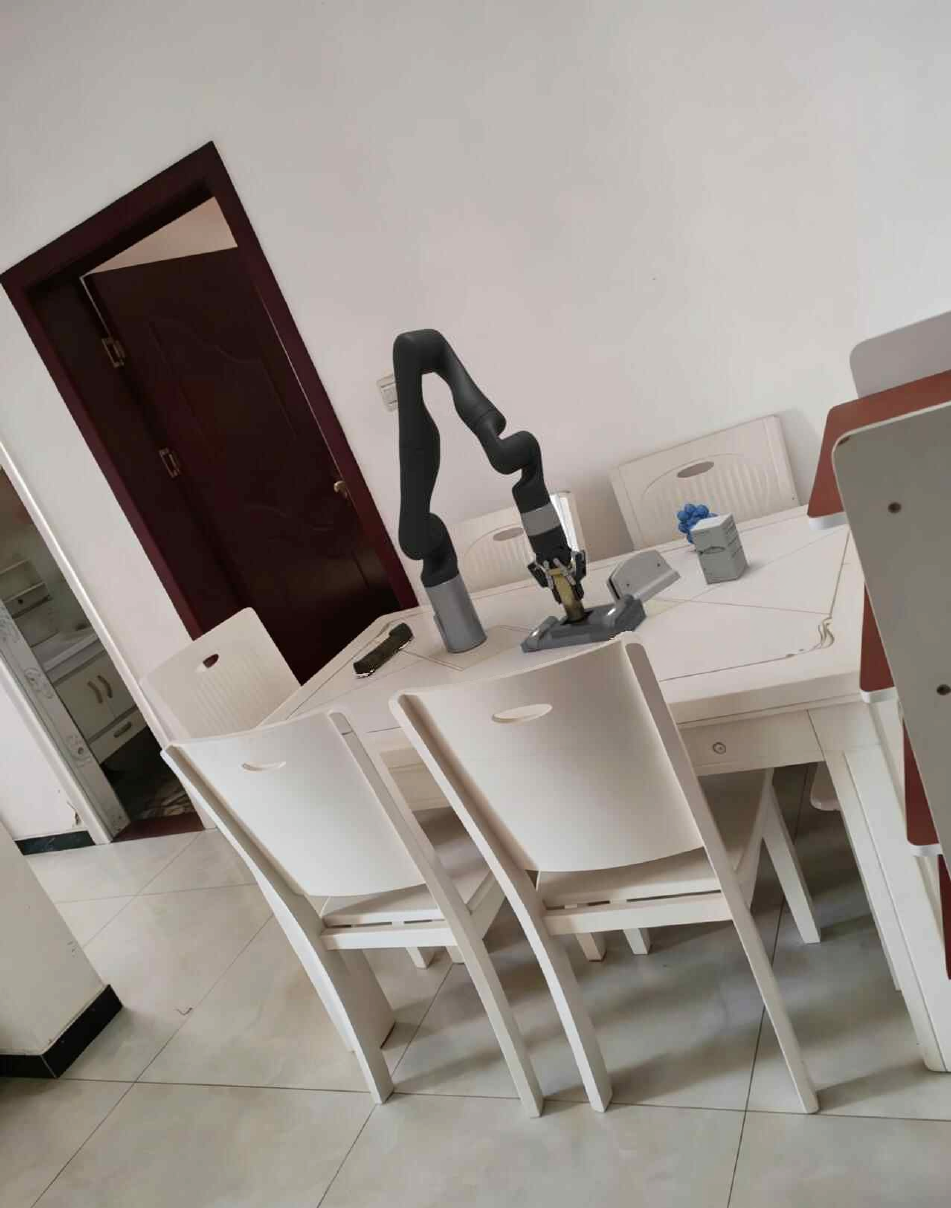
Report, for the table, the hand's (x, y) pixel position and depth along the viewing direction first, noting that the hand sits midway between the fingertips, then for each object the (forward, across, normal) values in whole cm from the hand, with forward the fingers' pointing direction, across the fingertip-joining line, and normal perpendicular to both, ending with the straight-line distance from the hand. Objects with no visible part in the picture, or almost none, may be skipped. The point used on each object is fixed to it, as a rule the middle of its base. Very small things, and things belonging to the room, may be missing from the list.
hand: (571, 600), depth 201 cm
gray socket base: (+8, 0, 0) cm, 8 cm away
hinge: (+8, +7, +19) cm, 22 cm away
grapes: (+8, +14, +41) cm, 44 cm away
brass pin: (+4, 0, 0) cm, 4 cm away
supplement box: (+8, +26, +21) cm, 34 cm away
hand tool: (+8, -62, +5) cm, 63 cm away
